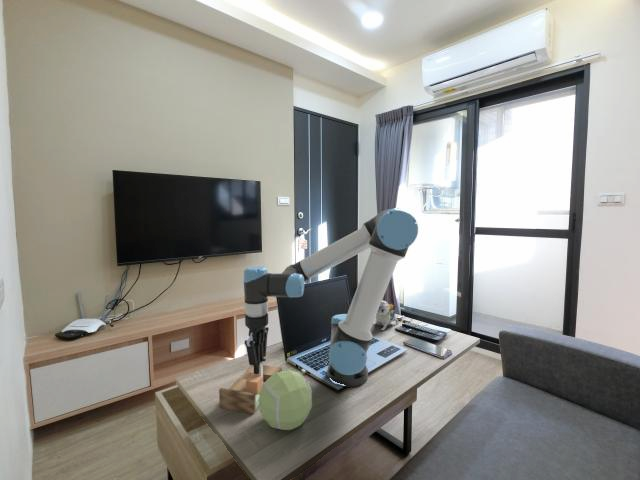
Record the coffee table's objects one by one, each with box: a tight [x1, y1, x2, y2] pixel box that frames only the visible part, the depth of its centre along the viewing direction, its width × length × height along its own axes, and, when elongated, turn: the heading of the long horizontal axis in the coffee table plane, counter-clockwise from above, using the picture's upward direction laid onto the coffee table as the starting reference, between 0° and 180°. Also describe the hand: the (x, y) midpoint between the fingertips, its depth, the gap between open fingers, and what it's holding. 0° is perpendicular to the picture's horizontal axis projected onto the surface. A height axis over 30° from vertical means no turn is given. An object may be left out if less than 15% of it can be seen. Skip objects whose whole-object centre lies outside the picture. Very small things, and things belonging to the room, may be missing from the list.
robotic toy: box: [373, 299, 400, 331], centre depth 160 cm, size 13×17×15 cm
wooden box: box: [218, 364, 283, 415], centre depth 106 cm, size 12×22×6 cm, turn 165°
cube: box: [246, 374, 263, 394], centre depth 101 cm, size 4×4×4 cm
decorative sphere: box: [258, 369, 313, 431], centre depth 89 cm, size 15×15×15 cm
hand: (258, 380), depth 104 cm, fingers closed
